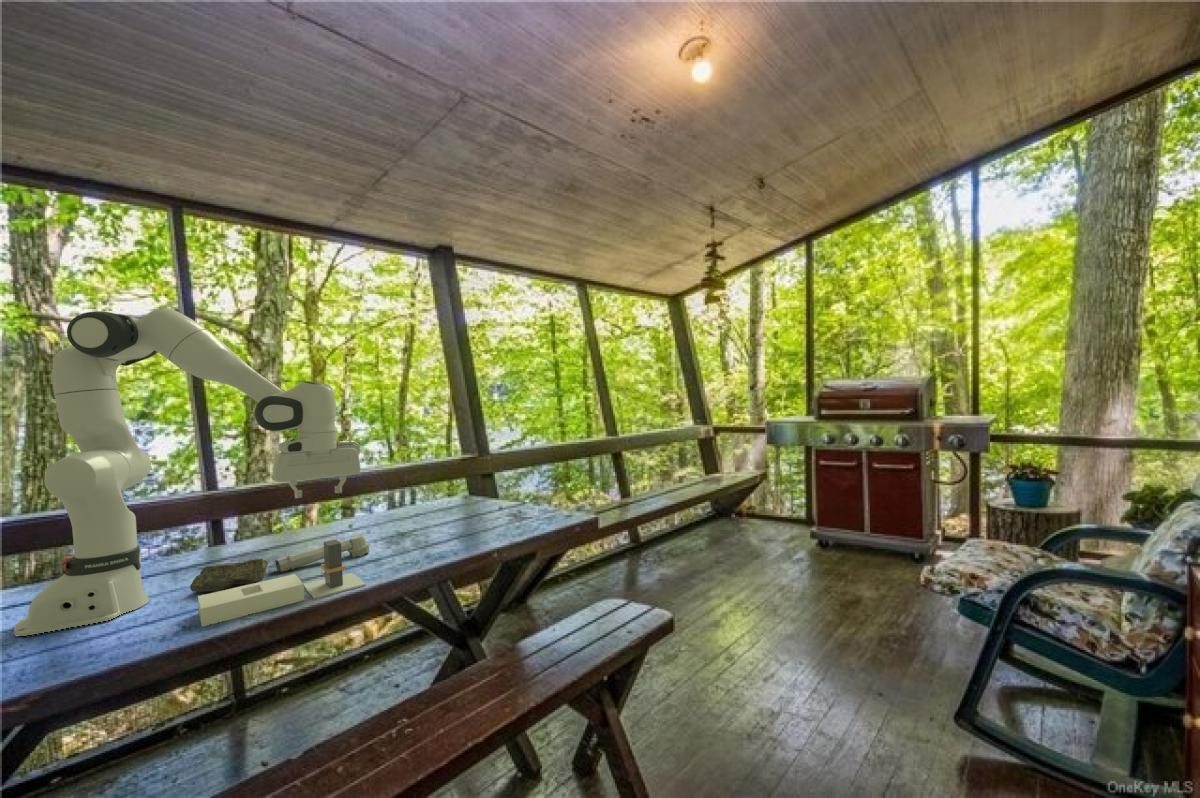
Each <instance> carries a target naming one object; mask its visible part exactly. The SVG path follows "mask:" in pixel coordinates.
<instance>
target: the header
mask: <svg viewBox="0 0 1200 798" xmlns="http://www.w3.org/2000/svg"><path fill="white" fill-rule="evenodd" d="M304 584H305V583H303V581H301V580H300V577H299V576H297V575H296V574H295V573H294V574H290V575H286V576H285V575H284V576H281V577H276V578H272V579H267V580H263V581H262V580H261V581H259V582H256V583H250V584H245V585H240V586H237V587H231V588H228V589H225V590H221V591H213V592H211V593H207V594H201V595H197V605H198V607H197V608H198V617H199V621H200V625H201V627H202V628H203V627H207V626H210V624H211V625H215V624H219V623H222V621H223V622H226V621H230V620H234V619H239V618H241V617H245V616H249V615H248V614H250V615H253V614H256V613H260V612H264V611H269V610H271V609H277V608H280V607H284V606H287V605H292V604H295V603H300V602H303V601H305V587H304ZM252 613H253V614H252ZM218 622H219V623H218Z"/></svg>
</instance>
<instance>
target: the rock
mask: <svg viewBox="0 0 1200 798" xmlns="http://www.w3.org/2000/svg"><path fill="white" fill-rule="evenodd" d="M268 565H269V562H268V561H267V560H265V559H262V558H254V559H249V560H244V561H241V562H240V561H239V562H225V563H221V564H217V565H209V566H208V565H207V566H203V568H202V570H201V571H200V573H199V575H197V576H195V578H194V579H193V580H192V582H191V584H190V586H189V589H190V590H191V592H194V593H195V592H219V591H223V590H224V589H225V590H227V588H228V589H231V588H233V587H234V586H244V585H243V584H245V585H249V584H254V583H255V582H256V583H258V581H259V582H261V581H262V579H264V578H265V576H266V574H267V567H268Z"/></svg>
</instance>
